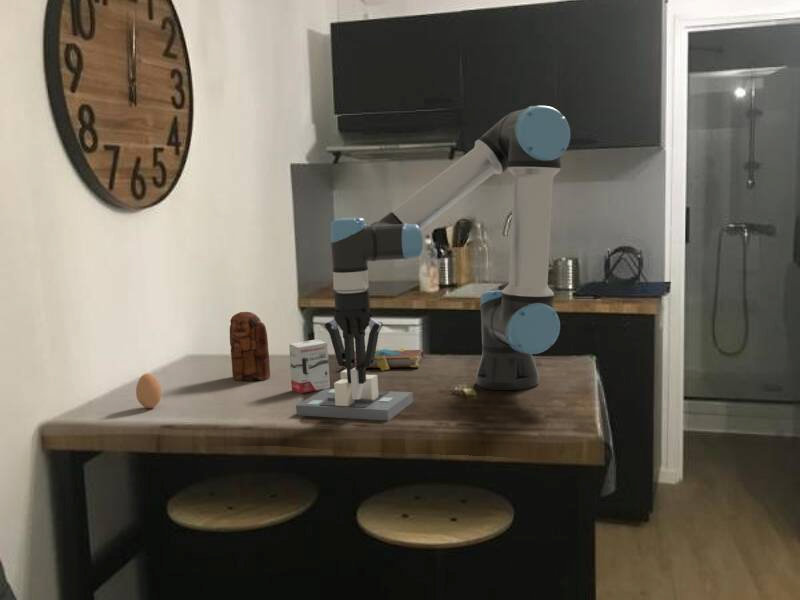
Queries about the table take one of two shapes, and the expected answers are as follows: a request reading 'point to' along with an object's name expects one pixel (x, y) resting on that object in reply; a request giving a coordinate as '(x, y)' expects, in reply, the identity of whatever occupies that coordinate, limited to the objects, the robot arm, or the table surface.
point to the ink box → (309, 366)
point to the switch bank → (356, 406)
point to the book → (396, 358)
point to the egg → (148, 391)
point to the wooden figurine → (249, 348)
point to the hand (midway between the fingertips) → (357, 397)
